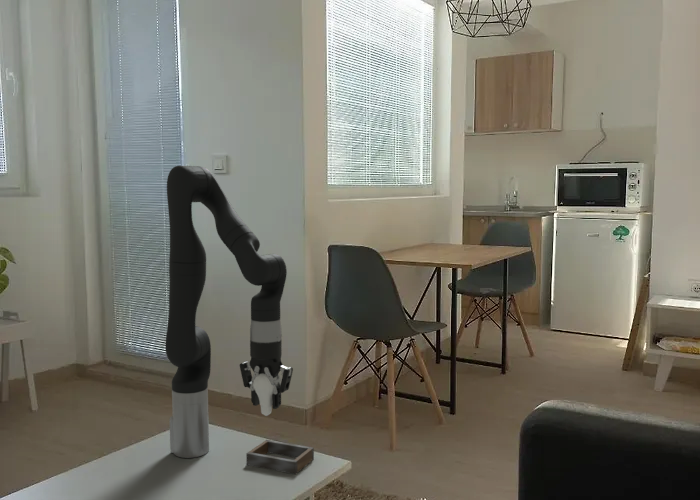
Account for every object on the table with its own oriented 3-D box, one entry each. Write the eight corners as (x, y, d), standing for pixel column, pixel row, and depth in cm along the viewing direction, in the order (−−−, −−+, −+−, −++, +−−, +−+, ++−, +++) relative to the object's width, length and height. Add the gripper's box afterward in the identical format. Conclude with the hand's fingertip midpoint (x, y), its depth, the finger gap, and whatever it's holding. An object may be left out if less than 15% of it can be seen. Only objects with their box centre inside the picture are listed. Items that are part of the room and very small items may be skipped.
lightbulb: (274, 420, 162) (273, 375, 161) (250, 419, 163) (249, 374, 162) (282, 412, 168) (281, 368, 167) (258, 410, 169) (258, 367, 168)
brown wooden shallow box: (246, 464, 173) (246, 453, 172) (266, 450, 182) (266, 439, 181) (295, 474, 167) (295, 462, 167) (313, 458, 176) (313, 447, 176)
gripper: (231, 337, 163) (232, 406, 165) (284, 344, 157) (284, 415, 159) (248, 331, 170) (249, 398, 172) (299, 337, 164) (299, 405, 166)
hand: (266, 406), depth 165 cm, fingers closed on lightbulb, 5 cm apart
